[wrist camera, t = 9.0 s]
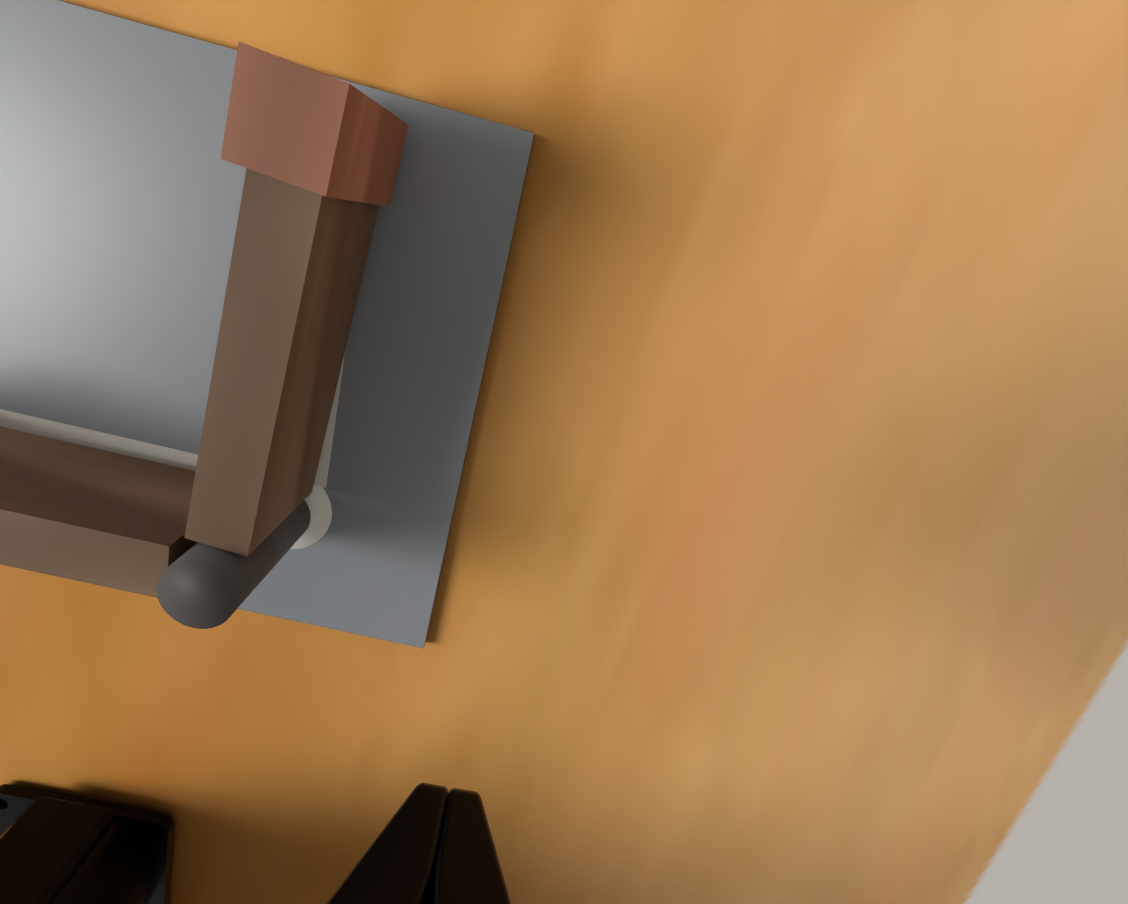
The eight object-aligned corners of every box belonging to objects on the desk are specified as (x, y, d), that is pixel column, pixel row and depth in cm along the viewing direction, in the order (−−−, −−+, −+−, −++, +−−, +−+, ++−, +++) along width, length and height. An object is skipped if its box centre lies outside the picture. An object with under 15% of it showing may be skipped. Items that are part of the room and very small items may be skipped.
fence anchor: (306, 548, 19) (231, 639, 15) (-116, 455, 19) (-326, 521, 14) (314, 490, 19) (238, 567, 14) (-123, 390, 18) (-345, 440, 14)
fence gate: (408, 124, 16) (349, 83, 11) (320, 494, 19) (247, 570, 15) (329, 95, 15) (238, 41, 11) (253, 473, 19) (160, 544, 14)
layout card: (425, 642, 21) (423, 648, 21) (-36, 544, 20) (-46, 549, 20) (534, 134, 16) (533, 132, 16) (-72, -35, 15) (-86, -41, 15)
